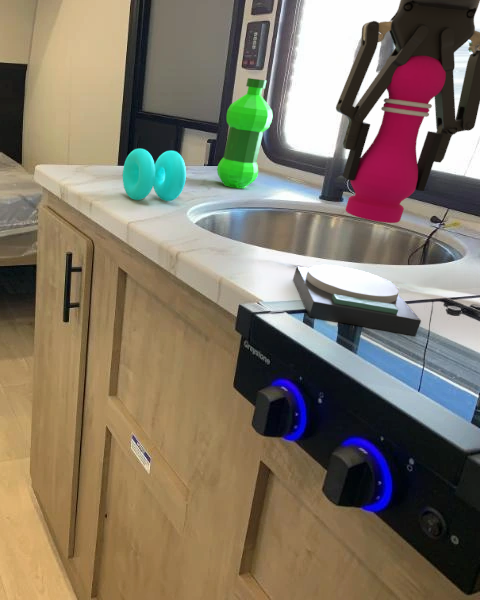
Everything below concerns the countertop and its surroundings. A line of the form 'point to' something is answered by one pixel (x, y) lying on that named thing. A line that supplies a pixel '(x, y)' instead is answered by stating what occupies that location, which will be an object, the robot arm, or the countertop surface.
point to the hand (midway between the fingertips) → (382, 183)
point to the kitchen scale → (354, 298)
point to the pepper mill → (396, 143)
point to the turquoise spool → (154, 175)
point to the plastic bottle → (245, 136)
